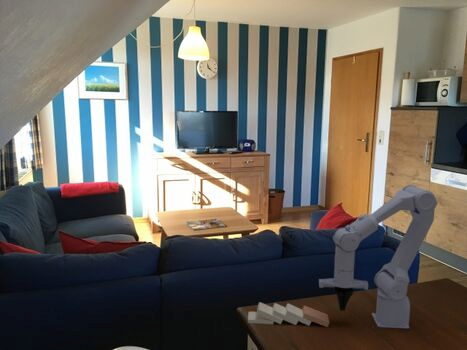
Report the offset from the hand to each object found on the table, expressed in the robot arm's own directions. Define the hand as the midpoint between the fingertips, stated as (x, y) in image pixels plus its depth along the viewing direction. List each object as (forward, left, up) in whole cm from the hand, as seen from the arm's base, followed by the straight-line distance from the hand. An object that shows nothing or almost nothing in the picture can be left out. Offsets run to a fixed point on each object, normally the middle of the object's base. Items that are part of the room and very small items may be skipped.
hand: (342, 309), depth 125 cm
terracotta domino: (+4, 0, -4) cm, 6 cm away
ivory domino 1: (+21, 0, -5) cm, 22 cm away
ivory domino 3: (+14, 0, -4) cm, 14 cm away
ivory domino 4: (+10, 0, -4) cm, 11 cm away
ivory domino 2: (+19, 0, -4) cm, 19 cm away
